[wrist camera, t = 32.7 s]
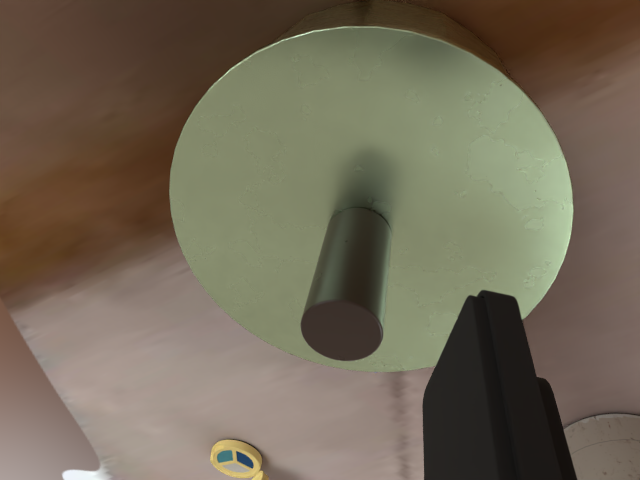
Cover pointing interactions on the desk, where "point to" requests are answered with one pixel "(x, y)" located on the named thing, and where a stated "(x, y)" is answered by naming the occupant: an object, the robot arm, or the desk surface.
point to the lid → (368, 193)
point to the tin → (397, 22)
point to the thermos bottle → (605, 447)
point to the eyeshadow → (237, 460)
